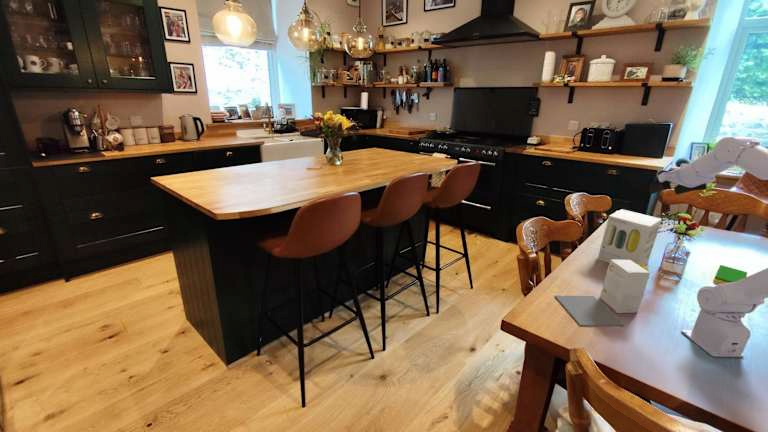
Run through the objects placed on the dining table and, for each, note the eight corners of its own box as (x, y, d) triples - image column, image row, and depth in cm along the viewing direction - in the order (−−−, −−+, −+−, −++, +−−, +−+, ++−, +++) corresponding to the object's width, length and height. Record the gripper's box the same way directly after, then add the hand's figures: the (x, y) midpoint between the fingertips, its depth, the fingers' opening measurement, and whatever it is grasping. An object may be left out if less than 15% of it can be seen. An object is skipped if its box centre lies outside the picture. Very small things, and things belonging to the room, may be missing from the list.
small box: (637, 313, 102) (651, 272, 97) (616, 313, 101) (629, 272, 97) (618, 297, 109) (630, 259, 105) (598, 297, 109) (609, 258, 104)
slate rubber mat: (623, 326, 96) (624, 325, 95) (580, 325, 95) (580, 324, 95) (593, 297, 109) (593, 296, 109) (554, 296, 108) (555, 295, 108)
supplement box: (596, 258, 134) (607, 215, 128) (609, 250, 142) (621, 208, 136) (636, 273, 124) (651, 226, 118) (648, 262, 132) (663, 218, 126)
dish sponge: (744, 278, 125) (747, 272, 124) (741, 291, 116) (743, 285, 115) (718, 270, 129) (720, 264, 129) (712, 282, 121) (715, 276, 120)
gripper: (725, 155, 95) (682, 179, 107) (672, 154, 94) (636, 178, 107) (734, 179, 92) (690, 200, 105) (680, 178, 92) (642, 199, 104)
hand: (663, 190), depth 106 cm, fingers open, 7 cm apart
